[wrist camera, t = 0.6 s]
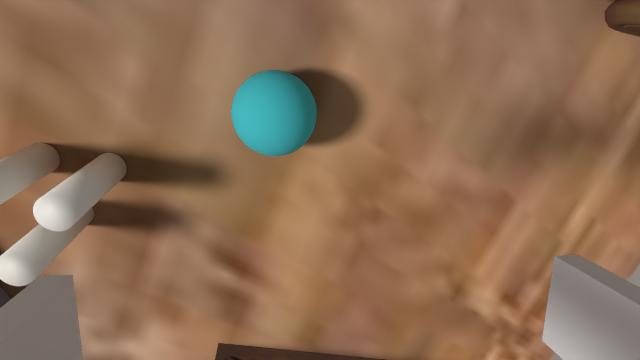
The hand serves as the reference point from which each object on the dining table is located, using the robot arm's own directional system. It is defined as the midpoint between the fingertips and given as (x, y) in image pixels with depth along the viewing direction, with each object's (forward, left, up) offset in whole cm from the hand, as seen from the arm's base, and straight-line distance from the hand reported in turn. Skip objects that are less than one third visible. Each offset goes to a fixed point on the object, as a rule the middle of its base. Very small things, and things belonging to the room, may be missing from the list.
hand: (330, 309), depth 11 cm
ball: (+1, -2, -20) cm, 20 cm away
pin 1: (+20, -4, -23) cm, 30 cm away
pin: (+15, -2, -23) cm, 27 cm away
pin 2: (+20, +1, -23) cm, 30 cm away
